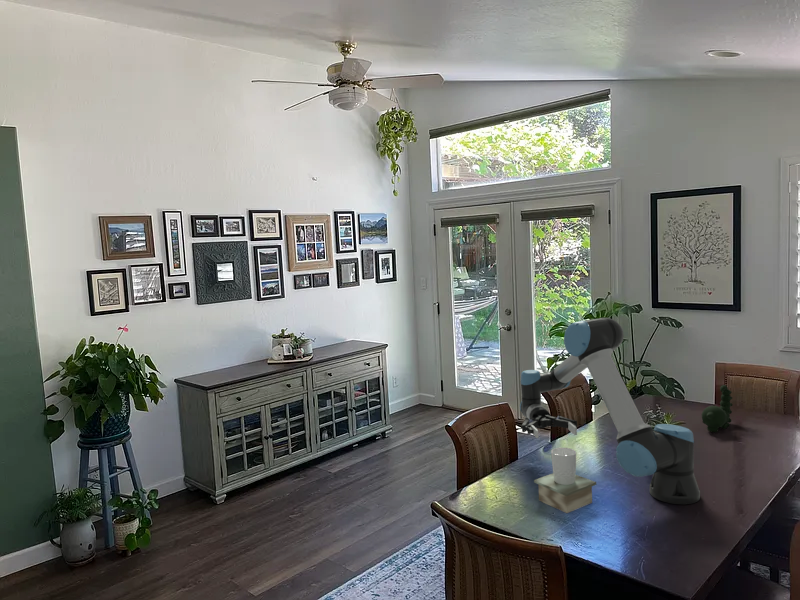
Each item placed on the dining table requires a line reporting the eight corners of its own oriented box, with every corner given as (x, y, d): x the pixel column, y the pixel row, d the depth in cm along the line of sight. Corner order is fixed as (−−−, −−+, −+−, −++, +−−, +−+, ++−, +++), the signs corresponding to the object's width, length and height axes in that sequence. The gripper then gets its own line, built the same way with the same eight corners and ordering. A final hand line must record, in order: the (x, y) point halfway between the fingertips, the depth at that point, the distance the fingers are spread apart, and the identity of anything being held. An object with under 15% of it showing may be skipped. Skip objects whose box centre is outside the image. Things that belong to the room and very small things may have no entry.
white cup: (582, 483, 191) (581, 453, 190) (561, 487, 188) (560, 457, 187) (567, 474, 198) (566, 446, 197) (547, 478, 196) (546, 449, 195)
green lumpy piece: (715, 423, 268) (695, 432, 251) (716, 382, 268) (696, 388, 250) (738, 427, 262) (719, 437, 244) (739, 385, 261) (720, 391, 244)
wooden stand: (596, 502, 192) (596, 482, 191) (567, 515, 184) (566, 493, 183) (563, 489, 203) (563, 469, 203) (534, 500, 196) (533, 480, 195)
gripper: (571, 423, 226) (592, 440, 205) (507, 428, 225) (521, 446, 204) (570, 404, 226) (591, 419, 205) (506, 409, 225) (520, 425, 203)
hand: (556, 432), depth 204 cm, fingers open, 13 cm apart
